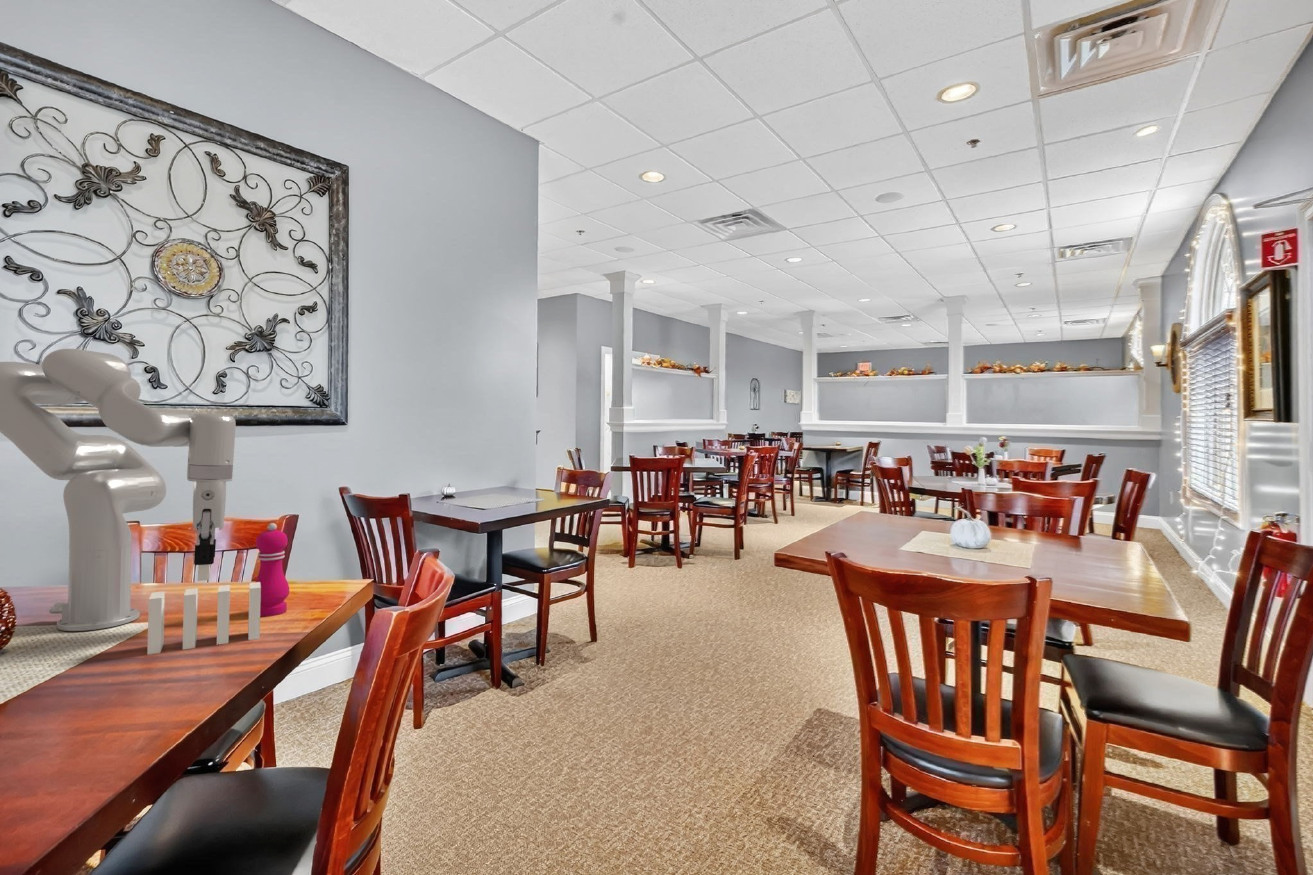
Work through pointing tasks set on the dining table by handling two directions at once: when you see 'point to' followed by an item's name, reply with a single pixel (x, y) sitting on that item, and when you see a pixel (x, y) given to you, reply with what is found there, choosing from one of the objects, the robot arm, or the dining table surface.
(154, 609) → the domino
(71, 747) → the dining table surface
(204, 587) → the dining table surface
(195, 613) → the domino
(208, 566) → the domino loose
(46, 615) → the dining table surface
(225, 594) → the domino
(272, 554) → the pepper mill
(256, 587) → the domino
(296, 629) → the dining table surface
